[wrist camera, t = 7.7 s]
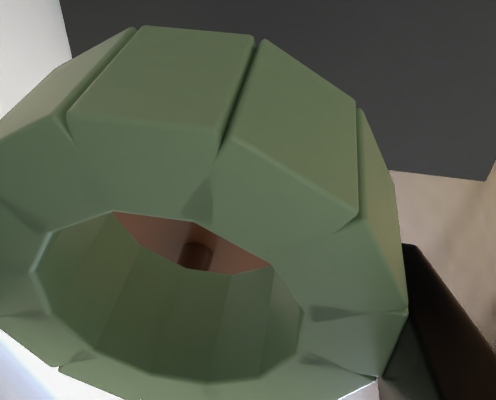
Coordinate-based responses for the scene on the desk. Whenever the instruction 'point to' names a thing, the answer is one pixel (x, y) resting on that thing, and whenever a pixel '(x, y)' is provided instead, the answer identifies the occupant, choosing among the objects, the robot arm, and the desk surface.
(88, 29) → the mat
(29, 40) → the desk surface
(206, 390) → the ring
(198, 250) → the peg stand
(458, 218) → the desk surface
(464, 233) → the desk surface
